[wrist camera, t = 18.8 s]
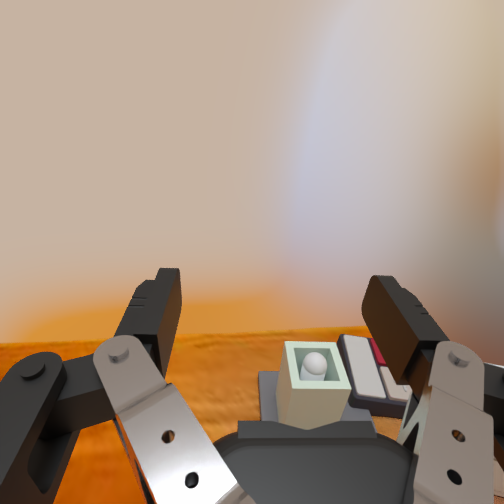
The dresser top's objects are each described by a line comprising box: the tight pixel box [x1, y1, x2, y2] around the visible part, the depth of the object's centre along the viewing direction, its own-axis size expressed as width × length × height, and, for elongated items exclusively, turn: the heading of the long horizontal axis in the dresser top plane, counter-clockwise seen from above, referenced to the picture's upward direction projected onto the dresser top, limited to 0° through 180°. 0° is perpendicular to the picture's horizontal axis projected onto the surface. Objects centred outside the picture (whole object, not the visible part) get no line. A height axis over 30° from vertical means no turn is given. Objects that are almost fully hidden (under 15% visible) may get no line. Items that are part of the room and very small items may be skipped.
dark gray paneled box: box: [336, 334, 412, 419], centre depth 43 cm, size 11×4×15 cm
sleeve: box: [276, 341, 352, 430], centre depth 35 cm, size 6×6×10 cm
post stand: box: [258, 352, 377, 433], centre depth 35 cm, size 14×13×12 cm
